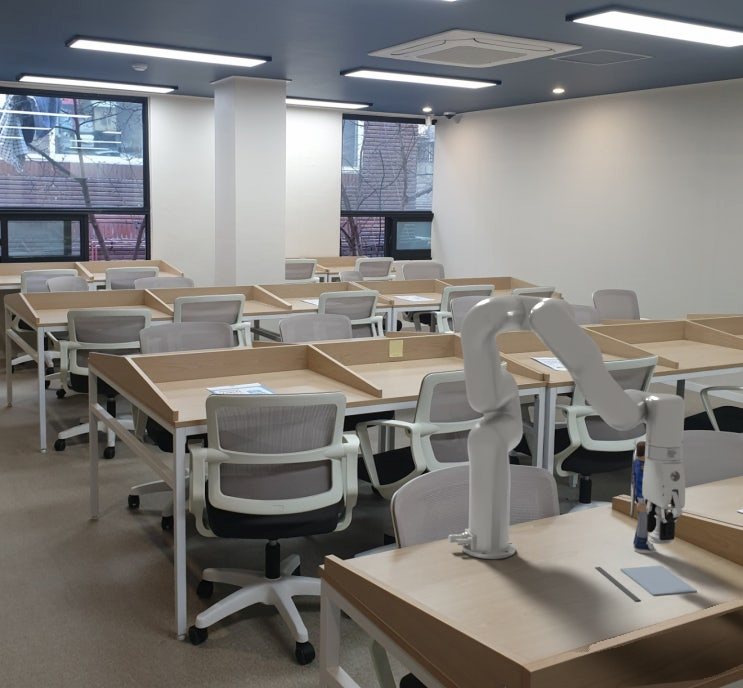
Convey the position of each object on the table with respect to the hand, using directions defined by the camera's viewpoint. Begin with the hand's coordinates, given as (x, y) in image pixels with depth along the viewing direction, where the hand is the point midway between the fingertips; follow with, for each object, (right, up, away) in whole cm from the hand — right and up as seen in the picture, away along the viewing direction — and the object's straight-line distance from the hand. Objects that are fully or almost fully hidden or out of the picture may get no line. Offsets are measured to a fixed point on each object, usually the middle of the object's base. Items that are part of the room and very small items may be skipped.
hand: (660, 534), depth 183 cm
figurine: (+2, -8, +20) cm, 22 cm away
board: (-3, -10, +1) cm, 11 cm away
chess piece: (0, -2, 0) cm, 2 cm away
